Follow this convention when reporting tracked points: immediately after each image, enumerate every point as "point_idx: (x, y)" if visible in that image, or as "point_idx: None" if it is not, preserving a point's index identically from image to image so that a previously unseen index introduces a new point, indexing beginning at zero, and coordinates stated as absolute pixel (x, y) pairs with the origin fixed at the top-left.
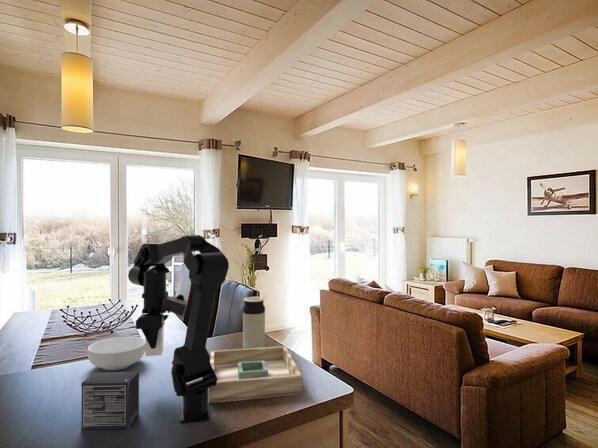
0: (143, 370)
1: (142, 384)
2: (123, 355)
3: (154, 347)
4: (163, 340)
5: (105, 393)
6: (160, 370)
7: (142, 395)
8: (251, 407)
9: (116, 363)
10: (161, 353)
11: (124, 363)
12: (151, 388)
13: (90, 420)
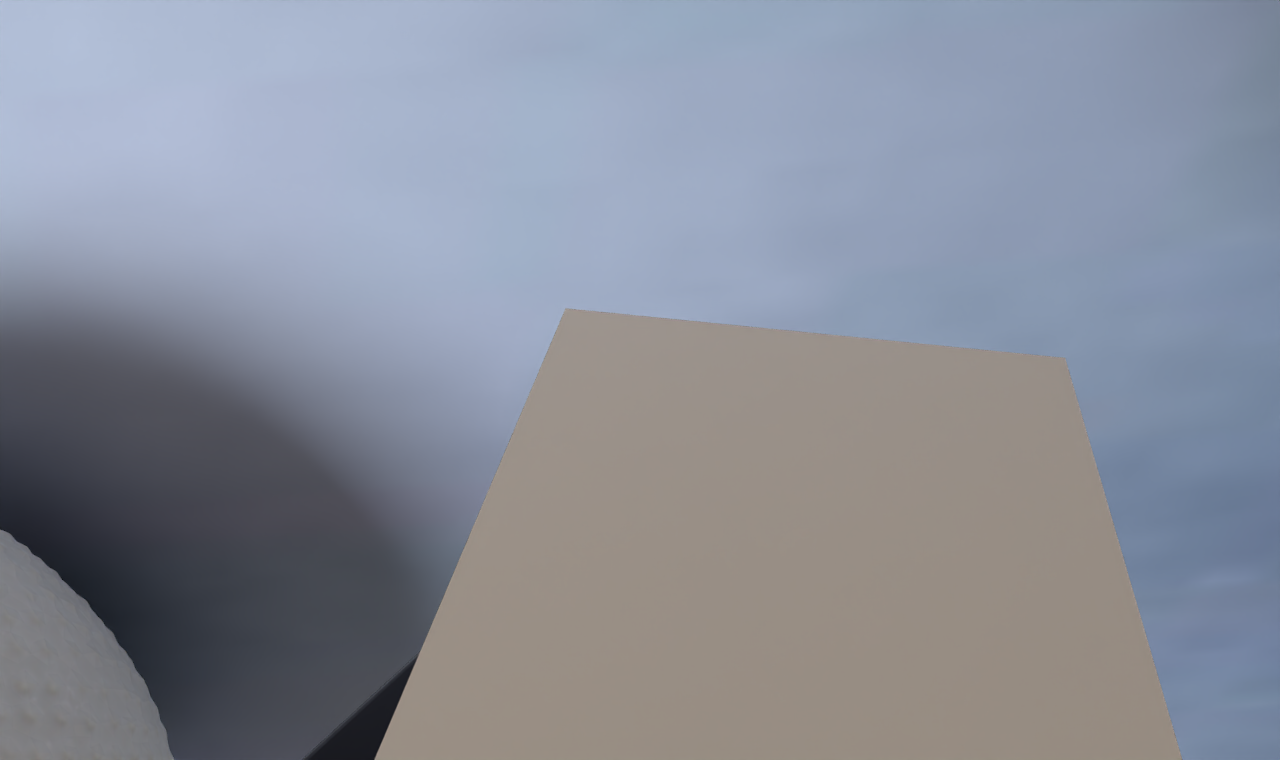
0: (63, 335)
1: None
2: (57, 754)
3: None
4: (484, 517)
5: None
6: (51, 90)
7: (974, 285)
8: None
9: (148, 732)
10: (1022, 376)
11: (95, 637)
12: (756, 179)
13: None
